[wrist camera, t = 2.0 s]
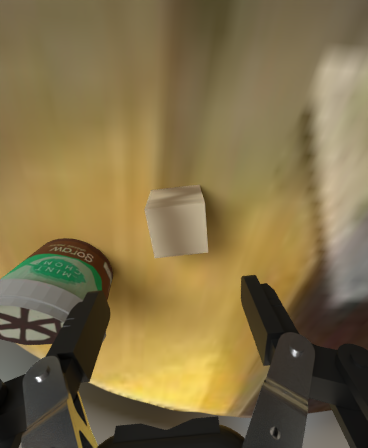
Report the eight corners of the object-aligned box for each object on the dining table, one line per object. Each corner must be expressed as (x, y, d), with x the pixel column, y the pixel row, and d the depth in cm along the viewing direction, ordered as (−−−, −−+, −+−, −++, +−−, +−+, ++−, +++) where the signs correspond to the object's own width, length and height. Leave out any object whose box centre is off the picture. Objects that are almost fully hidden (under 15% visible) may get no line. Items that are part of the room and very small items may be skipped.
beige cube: (199, 184, 22) (204, 202, 17) (202, 226, 24) (208, 252, 20) (151, 189, 22) (144, 209, 18) (158, 231, 24) (154, 257, 20)
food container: (127, 237, 24) (98, 308, 16) (124, 277, 27) (99, 357, 18) (12, 222, 23) (-90, 289, 14) (22, 266, 26) (-59, 346, 17)
